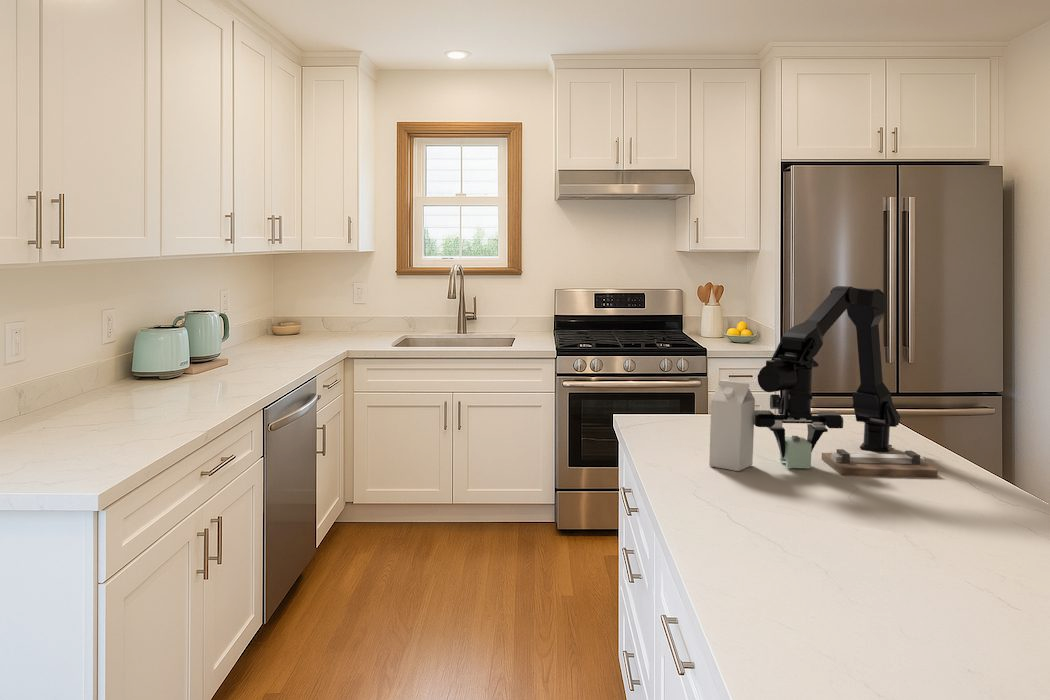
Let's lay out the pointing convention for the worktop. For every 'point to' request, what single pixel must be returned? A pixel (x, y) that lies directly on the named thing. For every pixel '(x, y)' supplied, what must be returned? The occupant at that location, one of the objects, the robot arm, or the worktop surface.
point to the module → (797, 452)
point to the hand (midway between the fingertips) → (795, 457)
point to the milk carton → (732, 426)
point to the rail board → (879, 464)
